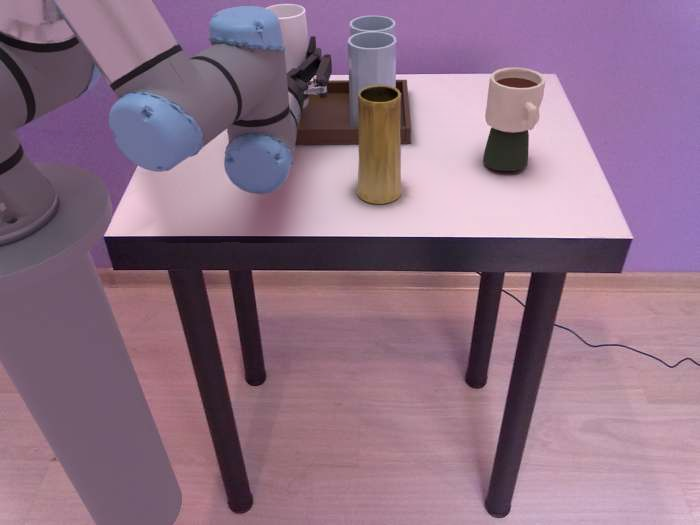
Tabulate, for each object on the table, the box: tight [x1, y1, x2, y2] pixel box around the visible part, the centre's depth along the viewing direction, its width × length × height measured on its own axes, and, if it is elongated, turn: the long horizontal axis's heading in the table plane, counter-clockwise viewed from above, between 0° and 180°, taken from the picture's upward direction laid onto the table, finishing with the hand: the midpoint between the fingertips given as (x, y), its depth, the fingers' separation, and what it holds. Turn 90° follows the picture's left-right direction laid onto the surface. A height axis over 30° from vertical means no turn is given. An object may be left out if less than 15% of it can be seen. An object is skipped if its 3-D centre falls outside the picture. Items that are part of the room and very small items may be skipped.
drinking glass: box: [265, 3, 309, 109], centre depth 96 cm, size 7×7×15 cm
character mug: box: [482, 66, 546, 172], centre depth 85 cm, size 11×7×13 cm, turn 15°
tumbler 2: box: [347, 31, 398, 127], centre depth 94 cm, size 7×7×14 cm
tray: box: [295, 79, 412, 146], centre depth 101 cm, size 26×18×3 cm
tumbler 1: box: [349, 14, 396, 38], centre depth 100 cm, size 7×7×14 cm
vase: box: [356, 85, 403, 205], centre depth 80 cm, size 6×6×14 cm
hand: (291, 45), depth 99 cm, fingers closed on drinking glass, 6 cm apart
